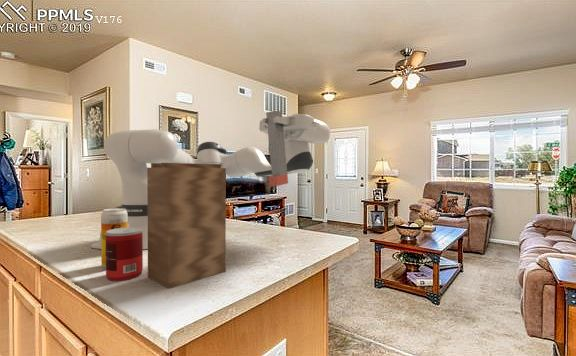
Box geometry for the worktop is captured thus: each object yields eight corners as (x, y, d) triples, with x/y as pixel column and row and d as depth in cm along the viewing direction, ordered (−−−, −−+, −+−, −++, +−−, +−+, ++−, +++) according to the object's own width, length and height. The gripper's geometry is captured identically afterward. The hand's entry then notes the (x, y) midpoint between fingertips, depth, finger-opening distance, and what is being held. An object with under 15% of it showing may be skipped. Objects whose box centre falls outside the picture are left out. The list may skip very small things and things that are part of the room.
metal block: (273, 112, 98) (262, 112, 95) (281, 111, 96) (270, 111, 92) (280, 182, 101) (269, 185, 98) (288, 183, 99) (277, 185, 95)
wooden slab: (203, 263, 83) (203, 164, 83) (225, 271, 77) (225, 164, 76) (147, 277, 72) (147, 163, 71) (168, 288, 65) (168, 162, 65)
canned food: (148, 270, 77) (148, 227, 77) (131, 281, 69) (130, 233, 69) (119, 269, 78) (118, 226, 77) (98, 281, 70) (98, 233, 69)
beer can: (104, 270, 77) (104, 211, 76) (99, 265, 81) (98, 209, 81) (130, 266, 81) (130, 209, 80) (124, 261, 85) (123, 207, 85)
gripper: (322, 134, 98) (294, 127, 87) (276, 138, 111) (247, 132, 101) (322, 114, 98) (294, 105, 87) (277, 121, 111) (248, 113, 101)
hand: (269, 120), depth 94 cm, fingers closed on metal block, 3 cm apart
